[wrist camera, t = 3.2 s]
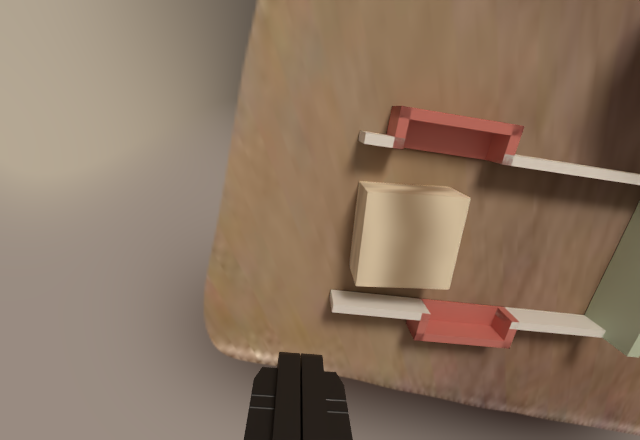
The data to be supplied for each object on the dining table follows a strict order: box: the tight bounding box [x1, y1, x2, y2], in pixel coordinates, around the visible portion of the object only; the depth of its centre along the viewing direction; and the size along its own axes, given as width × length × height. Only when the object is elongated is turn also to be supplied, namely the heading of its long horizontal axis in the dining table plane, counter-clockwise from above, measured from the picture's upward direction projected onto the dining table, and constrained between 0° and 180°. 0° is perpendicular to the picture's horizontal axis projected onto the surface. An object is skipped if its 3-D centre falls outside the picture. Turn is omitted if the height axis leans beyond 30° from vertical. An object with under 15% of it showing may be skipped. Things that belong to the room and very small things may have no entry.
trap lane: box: [330, 106, 640, 357], centre depth 27 cm, size 28×20×5 cm
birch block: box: [349, 181, 471, 289], centre depth 27 cm, size 8×8×4 cm
